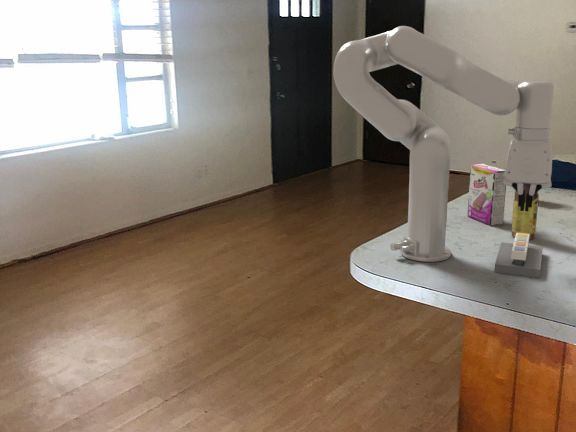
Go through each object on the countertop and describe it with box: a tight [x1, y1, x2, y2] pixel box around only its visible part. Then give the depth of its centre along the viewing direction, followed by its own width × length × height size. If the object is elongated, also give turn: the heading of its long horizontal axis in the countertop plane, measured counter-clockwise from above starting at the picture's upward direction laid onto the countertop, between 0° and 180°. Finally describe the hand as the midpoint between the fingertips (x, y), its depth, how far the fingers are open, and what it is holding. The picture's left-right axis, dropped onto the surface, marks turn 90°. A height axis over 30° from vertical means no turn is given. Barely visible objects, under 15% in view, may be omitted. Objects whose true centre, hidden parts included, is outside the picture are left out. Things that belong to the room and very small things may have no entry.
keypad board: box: [493, 241, 544, 278], centre depth 151 cm, size 17×10×2 cm, turn 157°
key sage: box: [513, 237, 530, 249], centre depth 152 cm, size 3×3×4 cm
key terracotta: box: [513, 241, 529, 255], centre depth 148 cm, size 3×3×4 cm
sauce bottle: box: [511, 183, 540, 240], centre depth 167 cm, size 7×6×20 cm
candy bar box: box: [466, 163, 507, 227], centre depth 183 cm, size 11×5×16 cm, turn 22°
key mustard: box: [515, 233, 530, 244], centre depth 155 cm, size 3×3×4 cm
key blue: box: [511, 247, 527, 265], centre depth 145 cm, size 3×3×4 cm
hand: (524, 209), depth 149 cm, fingers closed
